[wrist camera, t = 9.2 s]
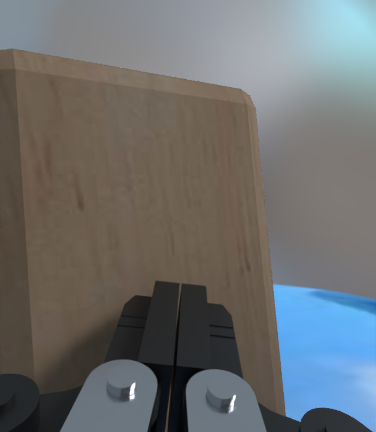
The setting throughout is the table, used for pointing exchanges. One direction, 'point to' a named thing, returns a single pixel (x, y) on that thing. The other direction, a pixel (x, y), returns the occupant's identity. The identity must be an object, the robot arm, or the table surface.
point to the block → (125, 213)
